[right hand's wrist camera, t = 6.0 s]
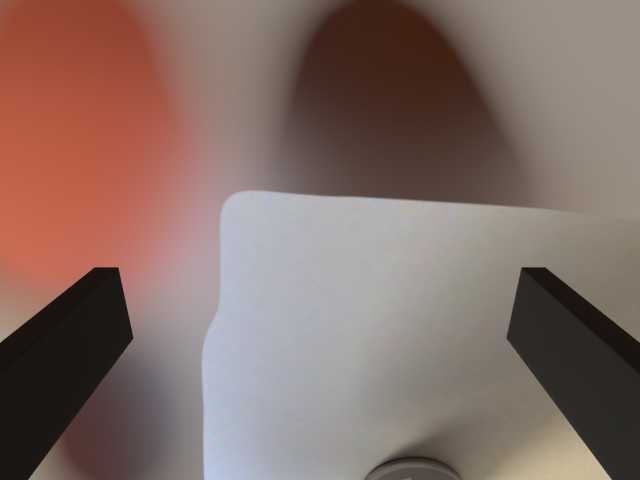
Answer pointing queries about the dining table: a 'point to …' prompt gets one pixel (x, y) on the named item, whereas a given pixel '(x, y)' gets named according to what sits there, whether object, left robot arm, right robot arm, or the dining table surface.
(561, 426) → the dining table surface
